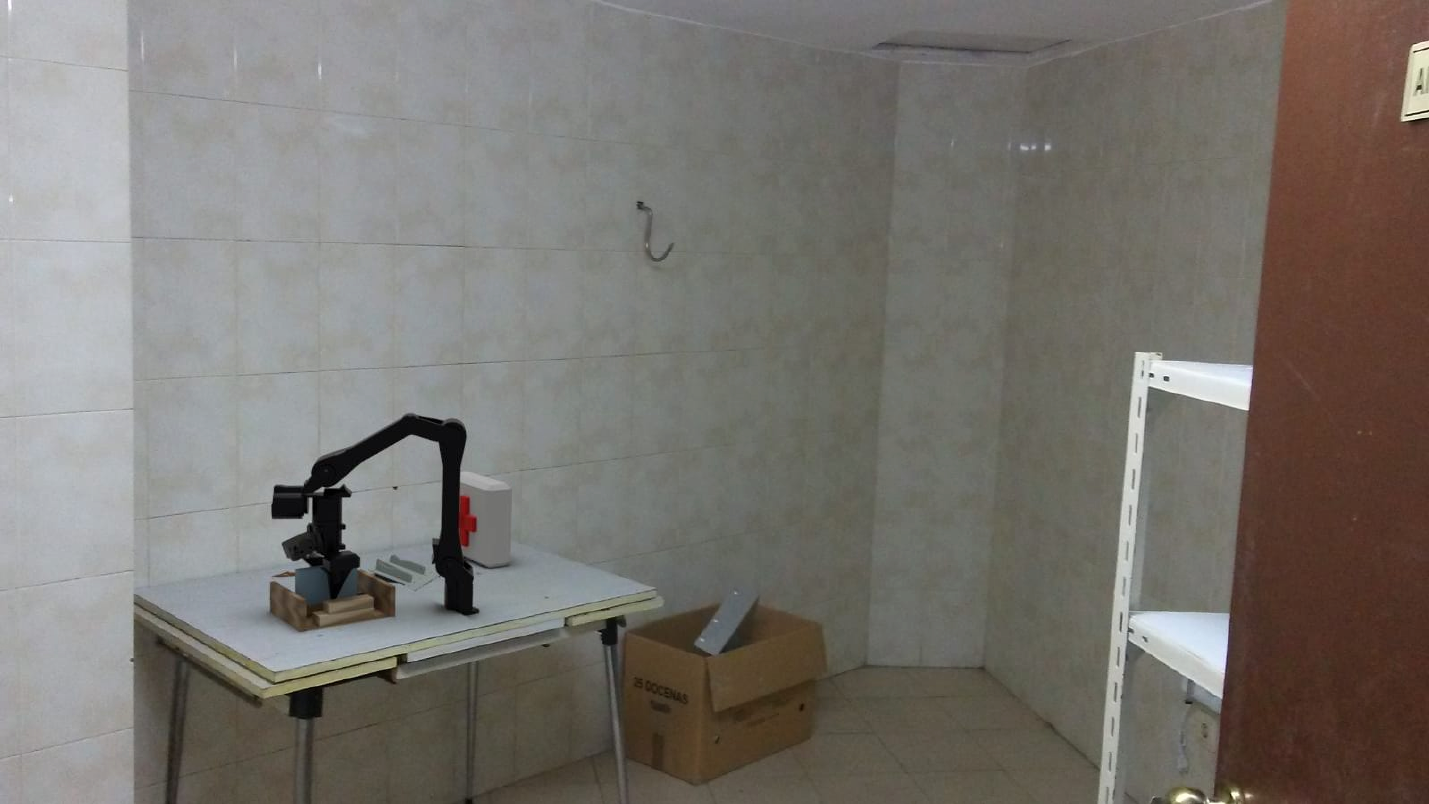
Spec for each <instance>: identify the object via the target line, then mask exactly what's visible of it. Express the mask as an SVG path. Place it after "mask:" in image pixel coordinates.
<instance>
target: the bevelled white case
mask: <svg viewBox="0 0 1429 804" xmlns="http://www.w3.org/2000/svg"><path fill="white" fill-rule="evenodd" d="M512 494H513V487H511V485H509V484H508V483H507V482H503V481H500V480H497V479H494V478H490V477H487V476H485V475H481V474H478V473H475V472H472V471H460V509H459V534H460V540H461V546H462V552H463V558H465V557H466V559H467V558H468V559H467V560H470V561H472V560H473V562H474V561H475V563H477V564H480V565H481V566H483V565H484V566H483V567H486V568H488V569H492V568H500V567H506V566H507V565H508V563H509V562H510V561H511V553H512V552H511V551H512V550H511V545H512V543H511V541H512V538H511V537H512V505H513V502H512V501H513V500H512V497H513V495H512Z"/></svg>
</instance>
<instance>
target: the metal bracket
mask: <svg viewBox="0 0 1429 804" xmlns="http://www.w3.org/2000/svg"><path fill="white" fill-rule="evenodd" d="M368 572H371V574H372V575H374V576H376V577H377V576H382V577H383V578H387V579H389V580H392V581H394V582H397V583H399V584H402V585H403V587H405V588H407V589H410V590H412V591H414V592H418V591H420V590H421V589H422V588H423V587H425V586H426V585H428V584H430V583H431V582H432V581H431V580H433V579H434V578H436V577H438V576H440V575H439V574H438V573H437V572H436V570H433V569H430V570H428V571H426V566H424V565H422V564H420V563H417V562H414V561H412V560H406V559H400V557H398V556H397V555H396V554H392V555H390V557H388V558H387V559H385V560H382V559H380V558H376V563H375V565H374V566H372V567H369V569H368ZM440 577H441V576H440ZM434 580H435V579H434ZM434 580H433V581H434ZM430 581H431V582H430ZM429 582H430V583H429ZM424 585H425V586H424ZM422 586H423V587H422ZM421 587H422V588H421ZM420 588H421V589H420ZM419 589H420V590H419Z"/></svg>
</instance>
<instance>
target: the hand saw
mask: <svg viewBox="0 0 1429 804" xmlns="http://www.w3.org/2000/svg"><path fill="white" fill-rule="evenodd" d="M284 574H285V575H284ZM286 574H287V575H286ZM293 576H294V577H293ZM271 577H276V578H281V577H286V578H290V577H293V578H295V571H294V572H290V570H289V571H288V570H287V571H286V570H285V571H284V572H282V573H280V574H279V573H278V574H275V575H273V576H271Z"/></svg>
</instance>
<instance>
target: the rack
mask: <svg viewBox="0 0 1429 804" xmlns="http://www.w3.org/2000/svg"><path fill="white" fill-rule="evenodd" d="M396 587H397V586H395V585H393V584H391V583H389V582H387V581H385V580H384V579H381V578H380V577H378V576H377V575H376V576H374V575H372V573H369V571H368V572H367V571H365V570H364V569H361V568H360V569H357V596H359V595H366V594H367V595H369V596H371V597H373V598H374V618H370V619H364V620H358V621H352V622H346V623H340V624H335V625H329V626H323V627H319V626H317V625H316V624H314V623H313V622H312V620H313V612H318V611H323V603H320V604H314V605H307V600H306V599H304V598H302V597H301V596H299V595H297V594H296V593H295V591H292V590H290V589H289V588H287V587H285V586H284V585H282V584H281V583H279V582H278V581H275V580H273V581H270V582H269V612H270V613H272V615H274V616H275V617H277V618H278V619H281V620H282V621H283V622H285V623H287V624H289V626H291V627H292V628H294V629H295V630H297V631H299V632H300V633H304V632H310V631H315V630H316V631H317V630H321V629H328V628H333V627H339V626H344V625H351V624H356V623H363V622H369V621H374V620H381V619H386V618H392V617H396V593H397V592H396Z"/></svg>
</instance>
